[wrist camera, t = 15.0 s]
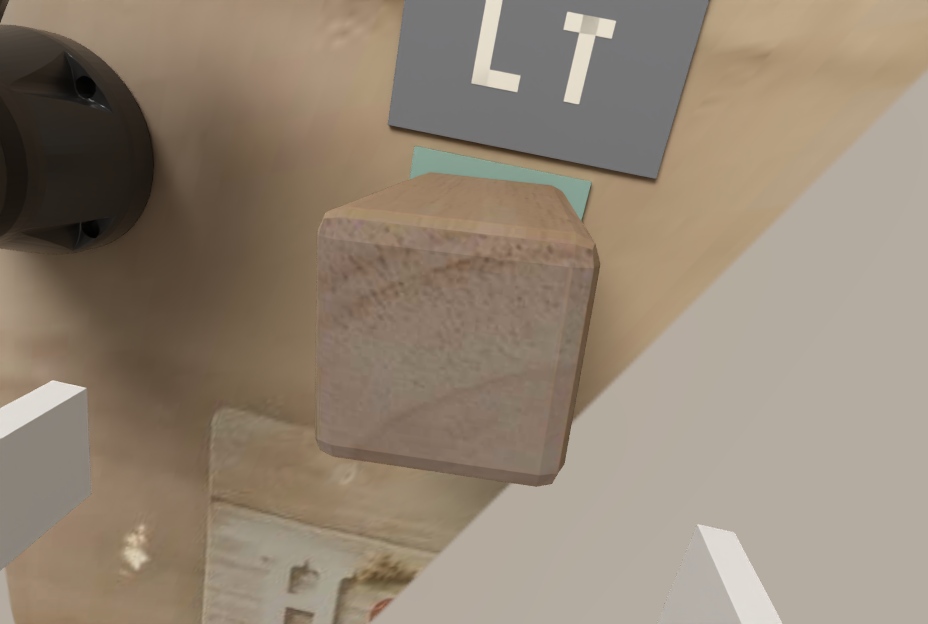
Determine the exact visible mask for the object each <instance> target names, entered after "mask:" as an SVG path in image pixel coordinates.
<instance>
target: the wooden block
mask: <svg viewBox="0 0 928 624" xmlns="http://www.w3.org/2000/svg"><path fill="white" fill-rule="evenodd" d="M599 268H600V261H599V257H598V253H597V249H596V244H595V242H594V240H593V239H592V237H591V236H590V234H589V233H588V231H587V229H586V228H585V226H584V225H583V223H582V222H581V220H580V218H579V217H578V215H577V214H576V212H575V210H574V209H573V207H572V206H571V204H570V203H569V201H568V199H567V198H566V196H565V195H564V193H563V192H562V191H561V190H559V189H558V188H556V187H554V186H552V185H545V184H535V183H526V182H517V181H508V180H498V179H489V178H480V177H471V176H461V175H452V174H443V173H434V172H429V173H426V174H423V175H420V176H417V177H415V178H412V179H410V180H407V181H404V182H402V183H399V184H397V185H394V186H391V187H389V188H386V189H384V190H381V191H379V192H376V193H373V194H371V195H368V196H366V197H363V198H361V199H358V200H355V201H353V202H350V203H348V204H345V205H343V206H340V207H337V208H335V209H332V210H330V211H327V212H325V215H324V217H323V219H322V221H321V224H320V226H319V228H318V231H317V300H316V389H315V435H316V440H317V443H318V446H319V448H320V450H322V451H323V452H325V453H327V454H329V455H331V456H333V457H340V458H347V459H354V460H360V461H367V462H374V463H381V464H387V465H394V466H401V467H408V468H414V469H421V470H428V471H435V472H442V473H448V474H455V475H462V476H469V477H475V478H482V479H489V480H496V481H502V482H509V483H516V484H523V485H530V486H542V485H548V484H552V483H553V481H554V479H555V477H556V476H557V474H558V472H559V471H560V469H561V468H562V467H563V465H564V463H565V457H566V452H567V446H568V441H569V435H570V429H571V424H572V418H573V413H574V407H575V402H576V396H577V391H578V385H579V379H580V374H581V368H582V363H583V357H584V352H585V346H586V341H587V335H588V330H589V324H590V318H591V313H592V307H593V302H594V296H595V291H596V285H597V280H598V274H599Z"/></svg>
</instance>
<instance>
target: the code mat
mask: <svg viewBox="0 0 928 624" xmlns="http://www.w3.org/2000/svg"><path fill="white" fill-rule="evenodd" d="M708 2H709V0H405V2H404V10H403V17H402V24H401V32H400V39H399V46H398V54H397V61H396V68H395V76H394V83H393V91H392V98H391V105H390V113H389V120H388V125H392V126H397V127H402V128H407V129H411V130H416V131H421V132H426V133H431V134H436V135H441V136H446V137H451V138H456V139H461V140H466V141H471V142H476V143H481V144H486V145H491V146H496V147H501V148H506V149H511V150H516V151H521V152H526V153H530V154H535V155H540V156H545V157H550V158H555V159H560V160H565V161H570V162H575V163H580V164H585V165H590V166H595V167H600V168H605V169H610V170H615V171H620V172H625V173H630V174H635V175H640V176H645V177H650V178H654V179H656V177H657V174H658V171H659V167H660V164H661V160H662V157H663V154H664V150H665V147H666V144H667V140H668V137H669V133H670V130H671V127H672V123H673V120H674V117H675V113H676V110H677V107H678V103H679V100H680V96H681V93H682V90H683V86H684V83H685V80H686V76H687V73H688V69H689V66H690V63H691V59H692V56H693V53H694V49H695V46H696V43H697V39H698V36H699V32H700V29H701V26H702V22H703V19H704V16H705V12H706V9H707V5H708Z"/></svg>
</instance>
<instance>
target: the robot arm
mask: <svg viewBox="0 0 928 624" xmlns="http://www.w3.org/2000/svg"><path fill="white" fill-rule="evenodd" d="M8 1H9V0H0V22H1V19H2V16H3V14H4V11H5V9H6V6H7V4H8ZM152 178H153V155H152V147H151V142H150V137H149V133H148V130H147V127H146V124H145V121H144V118H143V116H142V114H141V111H140V109H139V107H138V105H137V103H136V101H135V99H134V98H133V96H132V94H131V93H130V91H129V90H128V88H127V87H126V85H125V84H124V83H123V81H122V80H121V79H120V78H119V76H118V75H117V74H116V73H115V72H114V71H113V70H112V69H111V68H110V67H109V66H108V65H107V64H106V63H105V62H104V61H103V60H102V59H101V58H100V57H98V56H97V55H96V54H94V53H93V52H92V51H90V50H89V49H87V48H86V47H84V46H82V45H81V44H79V43H77V42H75V41H73V40H71V39H69V38H66V37H64V36H61V35H58V34H55V33H51V32H47V31H42V30H37V29H33V28H28V27H23V26H16V25H0V249H8V250H16V251H25V252H34V253H42V254H69V253H75V252H80V251H84V250H88V249H91V248H95V247H99V246H102V245H105V244H108V243H110V242H112V241H114V240H116V239H117V238H119V237H120V236H122V235H123V234H124V233H126V232H127V231H128V230H129V229H130V228H131V227H132V226H133V225H134V223H135V222H136V221H137V219H138V218H139V217H140V215H141V213H142V211H143V210H144V207H145V205H146V203H147V200H148V197H149V194H150V190H151V185H152ZM91 494H92V493H91V471H90V448H89V426H88V403H87V388H85V387H80V386H76V385H71V384H67V383H62V382H58V381H53V380H52V381H51V382H49V383H47V384H45V385H43V386H41V387H39V388H37V389H36V390H34V391H32V392H30V393H28V394H26V395H24V396H22V397H20V398H19V399H17V400H15V401H13V402H11V403H9V404H7V405H5V406H4V407H2V408H0V570H2V569H3V568H4V567H5V566H6V565H8V564H9V563H10V562H11V561H12V560H14V559H15V558H16V557H17V556H18V555H19V554H21V553H22V552H23V551H24V550H25V549H27V548H28V547H29V546H30V545H31V544H33V543H34V542H35V541H36V540H37V539H38V538H40V537H41V536H42V535H43V534H44V533H46V532H47V531H48V530H49V529H50V528H51V527H53V526H54V525H55V524H56V523H57V522H59V521H60V520H61V519H62V518H63V517H65V516H66V515H67V514H68V513H69V512H70V511H72V510H73V509H74V508H75V507H76V506H78V505H79V504H80V503H81V502H82V501H84V500H85V499H86V498H87V497H88V496H89V495H91ZM657 624H782V622H781V620H780V618H779V616H778V614H777V612H776V611H775V609H774V607H773V605H772V603H771V601H770V599H769V597H768V595H767V593H766V592H765V590H764V588H763V586H762V584H761V582H760V580H759V578H758V577H757V575H756V573H755V571H754V569H753V567H752V565H751V563H750V561H749V559H748V557H747V556H746V554H745V552H744V550H743V548H742V546H741V544H740V542H739V541H738V538H737V537H736V535H735V533H734V532H730V531H726V530H721V529H717V528H712V527H708V526H703V525H699V524H697V526H696V528H695V531H694V533H693V536H692V538H691V541H690V543H689V546H688V548H687V550H686V553H685V556H684V558H683V560H682V563H681V565H680V568H679V570H678V573H677V575H676V578H675V580H674V583H673V585H672V587H671V590H670V592H669V595H668V597H667V600H666V602H665V605H664V607H663V610H662V612H661V615H660V617H659V620H658V622H657Z"/></svg>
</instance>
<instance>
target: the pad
mask: <svg viewBox="0 0 928 624" xmlns="http://www.w3.org/2000/svg"><path fill="white" fill-rule="evenodd" d="M429 172H434V173H443V174H452V175H461V176H471V177H480V178H489V179H498V180H508V181H517V182H526V183H535V184H545V185H552V186H554V187H556V188H558V189H559V190H561V191H562V192H563V193H564V195H565V196H566V198H567V199H568V201H569V203H570V204H571V206H572V207H573V209H574V210H575V212H576V214H577V215H578V217H579V218H580V220H582V217H583V213H584V209H585V205H586V201H587V197H588V193H589V190H590V186H591V181H586V180H581V179H576V178H571V177H566V176H561V175H556V174H551V173H546V172H541V171H536V170H531V169H527V168H522V167H517V166H512V165H507V164H502V163H497V162H492V161H487V160H482V159H477V158H472V157H467V156H462V155H458V154H453V153H448V152H443V151H438V150H433V149H428V148H423V147H418V146H415V148H414V154H413V161H412V167H411V174H410V179H412V178H415V177H417V176H420V175H423V174H426V173H429Z"/></svg>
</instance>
